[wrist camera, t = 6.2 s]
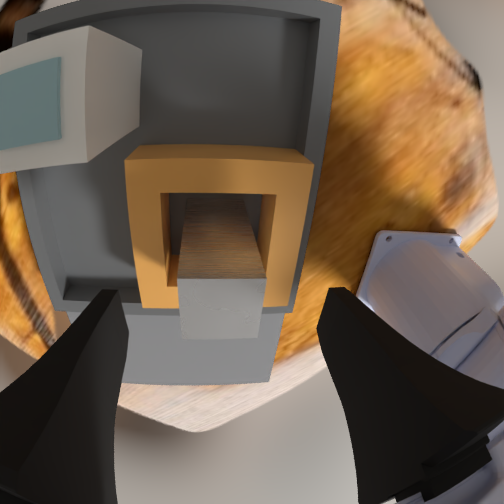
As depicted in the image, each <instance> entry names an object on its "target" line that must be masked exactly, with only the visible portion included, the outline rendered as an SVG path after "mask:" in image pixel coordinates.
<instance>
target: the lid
mask: <svg viewBox="0 0 504 504" xmlns="http://www.w3.org/2000/svg"><path fill="white" fill-rule="evenodd" d="M80 314H81V312H67V315H68V317H69V320H70V323H71V324H72V323H73V322H74V321H75V320H76V318H77V317H78V316H79V315H80ZM284 314H285V313H276V314H261V320H260V326H259V332H258V338H243V339H182V333H181V323H180V316H164V315H125V318H126V322H127V326H128V329H129V340H128V350H127V358H126V363H125V368H124V373H123V378H122V382H121V383H132V384H150V385H228V384H247V383H261V382H269V379H270V375H271V371H272V367H273V362H274V358H275V354H276V350H277V345H278V341H279V337H280V332H281V328H282V323H283V319H284Z"/></svg>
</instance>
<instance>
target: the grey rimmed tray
mask: <svg viewBox="0 0 504 504" xmlns="http://www.w3.org/2000/svg"><path fill="white" fill-rule="evenodd" d="M341 10H342V6H339V5H336V4H332V3H328V2H324V1H320V0H79V1H75V2H71V3H67V4H64V5H61V6H57V7H54V8H51V9H48V10H45V11H42V12H39V13H36V14H33V15H31V16H28V17H25V18H23V19H20V20H18V21H16V22H15V27H14V35H13V44H12V48H13V47H16V46H19V45H21V44H24V43H27V42H30V41H33V40H36V39H39V38H42V37H45V36H49V35H52V34H55V33H59V32H63V31H67V30H71V29H75V28H79V27H84V26H88V25H89V26H92V27H94V28H97V29H99V30H101V31H103V32H106V33H108V34H110V35H112V36H115V37H117V38H119V39H121V40H123V41H125V42H127V43H130V44H132V45H134V46H136V47H138V48H140V49H142V62H141V80H140V118H139V127H137V128H136V129H134V130H133V131H131V132H130V133H128V134H127V135H125V136H124V137H122V138H121V139H119V140H118V141H116V142H115V143H114V144H112V145H111V146H109V147H108V148H106V149H105V150H104V151H102V152H101V153H100V154H98V155H97V156H95V157H94V158H93V159H91V160H90V161H89V162H88V163H77V164H67V165H58V166H49V167H41V168H34V169H27V170H20V171H16V174H17V180H18V186H19V191H20V197H21V201H22V206H23V211H24V215H25V219H26V224H27V228H28V231H29V235H30V239H31V243H32V246H33V249H34V253H35V256H36V259H37V263H38V266H39V269H40V272H41V275H42V278H43V280H44V283H45V286H46V289H47V291H48V294H49V297H50V299H51V302H52V304H53V307H54V309H55V311H66V312H81V313H82V311H83V310H84V309H85V308H86V307H87V306H88V304H89V303H90V302H91V301H92V300H93V299H94V298H95V296H96V295H97V294H98V293H99V292H100V291H101V290H102V289H114V290H119V294H120V298H121V302H122V306H123V310H124V314H125V315H164V316H180V312H179V300H178V286H177V274H178V265H179V257H180V248H181V241H182V233H183V226H184V218H185V211H186V205H187V199H238V200H244V204H245V207H246V210H247V214H248V217H249V220H250V223H251V227H252V230H253V233H254V237H255V240H256V243H257V247H258V250H259V253H260V257H261V260H262V263H263V267H264V270H265V274H266V277H267V282H266V288H265V295H264V301H263V307H262V313H261V314H276V313H292V311H293V307H294V303H295V298H296V294H297V290H298V285H299V281H300V276H301V272H302V267H303V262H304V258H305V253H306V248H307V243H308V238H309V233H310V228H311V223H312V218H313V213H314V208H315V202H316V197H317V191H318V186H319V180H320V174H321V169H322V163H323V156H324V150H325V144H326V138H327V131H328V124H329V117H330V110H331V103H332V96H333V88H334V80H335V71H336V63H337V54H338V44H339V34H340V23H341Z"/></svg>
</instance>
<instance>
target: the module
mask: <svg viewBox="0 0 504 504" xmlns="http://www.w3.org/2000/svg"><path fill="white" fill-rule="evenodd" d="M141 62H142V49H140V48H138V47H136V46H134V45H132V44H130V43H127V42H125V41H123V40H121V39H119V38H117V37H115V36H112V35H110V34H108V33H106V32H103V31H101V30H99V29H97V28H94V27H92V26H89V25H88V26H84V27H79V28H75V29H71V30H67V31H63V32H59V33H55V34H52V35H49V36H45V37H42V38H39V39H36V40H33V41H30V42H27V43H24V44H21V45H19V46H16V47H13V48H11V49H8V50H6V51H3V52H1V53H0V174H2V173H8V172H14V171H20V170H27V169H34V168H41V167H49V166H58V165H67V164H77V163H88V162H89V161H90V160H91V159H93V158H94V157H95V156H97V155H98V154H100V153H101V152H102V151H104V150H105V149H106V148H108V147H109V146H111V145H112V144H114V143H115V142H116V141H118V140H119V139H121V138H122V137H124V136H125V135H127V134H128V133H130V132H131V131H133V130H134V129H136V128H137V127H139V118H140V80H141Z"/></svg>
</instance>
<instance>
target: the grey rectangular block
mask: <svg viewBox="0 0 504 504" xmlns="http://www.w3.org/2000/svg"><path fill="white" fill-rule="evenodd" d="M266 282H267V277H266V274H265V270H264V267H263V263H262V260H261V257H260V253H259V250H258V247H257V243H256V240H255V237H254V233H253V230H252V227H251V223H250V220H249V217H248V214H247V210H246V207H245V204H244V200H238V199H187V205H186V211H185V218H184V226H183V233H182V241H181V248H180V257H179V265H178V274H177V286H178V300H179V312H180V323H181V333H182V339H243V338H258V332H259V326H260V320H261V313H262V307H263V301H264V295H265V288H266Z"/></svg>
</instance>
